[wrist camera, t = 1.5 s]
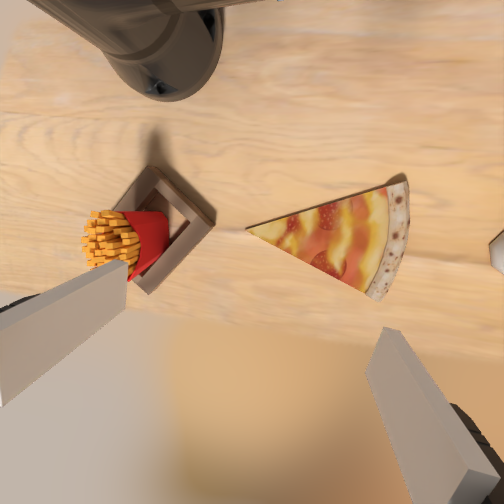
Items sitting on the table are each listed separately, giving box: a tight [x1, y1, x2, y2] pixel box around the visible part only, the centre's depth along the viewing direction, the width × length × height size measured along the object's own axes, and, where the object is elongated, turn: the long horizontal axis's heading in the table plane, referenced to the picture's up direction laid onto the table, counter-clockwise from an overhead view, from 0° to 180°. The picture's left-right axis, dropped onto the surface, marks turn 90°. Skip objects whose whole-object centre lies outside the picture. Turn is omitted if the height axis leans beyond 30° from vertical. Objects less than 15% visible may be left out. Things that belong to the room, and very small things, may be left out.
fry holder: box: [98, 166, 215, 295], centre depth 41 cm, size 12×15×2 cm
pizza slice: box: [246, 181, 410, 302], centre depth 37 cm, size 16×22×2 cm
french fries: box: [81, 210, 169, 282], centre depth 36 cm, size 9×4×13 cm, turn 177°
